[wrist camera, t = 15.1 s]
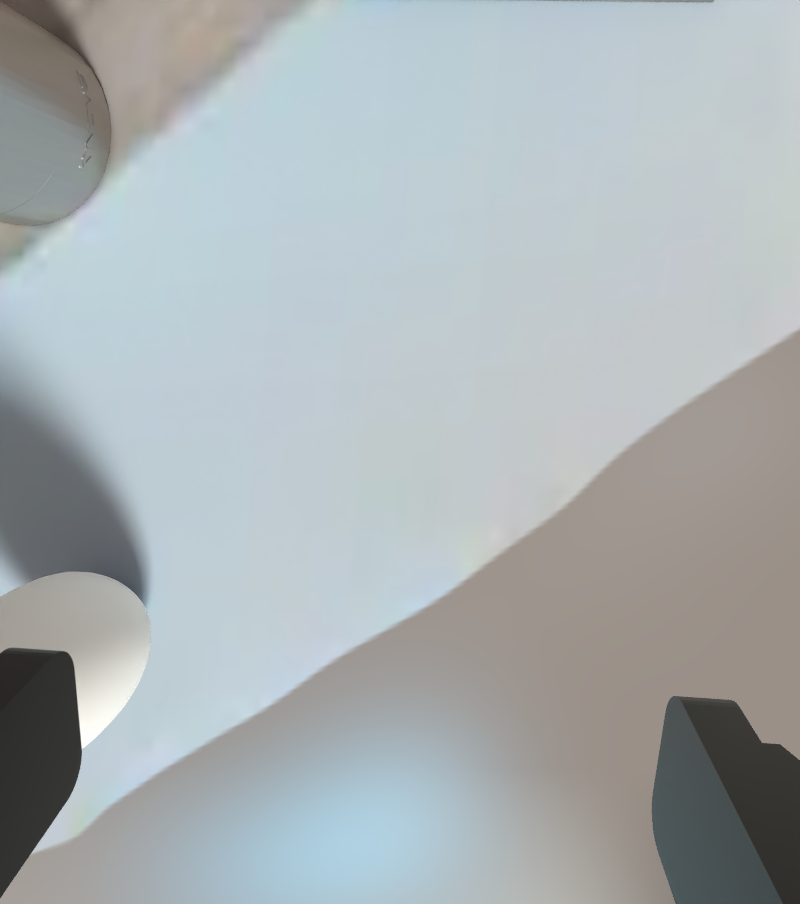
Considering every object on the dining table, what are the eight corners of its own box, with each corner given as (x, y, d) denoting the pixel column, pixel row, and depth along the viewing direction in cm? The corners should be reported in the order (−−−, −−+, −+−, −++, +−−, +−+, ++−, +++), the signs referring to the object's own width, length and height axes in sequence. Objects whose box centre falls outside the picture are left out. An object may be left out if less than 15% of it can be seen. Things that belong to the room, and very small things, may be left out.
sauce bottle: (210, 604, 41) (0, 834, 23) (133, 703, 42) (-116, 985, 25) (96, 515, 40) (-205, 679, 23) (23, 618, 42) (-307, 843, 25)
